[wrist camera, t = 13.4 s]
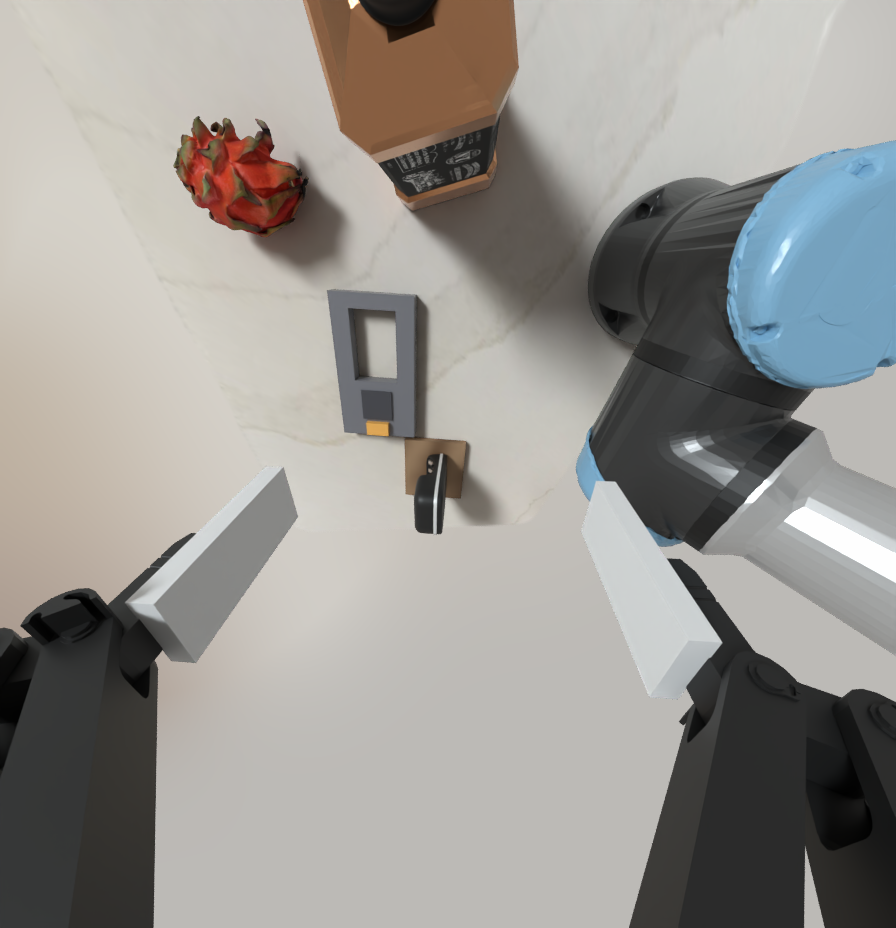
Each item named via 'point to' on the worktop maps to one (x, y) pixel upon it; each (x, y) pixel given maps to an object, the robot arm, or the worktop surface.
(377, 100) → the whiskey bottle
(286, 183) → the dragon fruit
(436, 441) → the walnut board
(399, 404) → the grey flat piece
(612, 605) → the robot arm
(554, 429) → the worktop surface
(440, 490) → the battery charger
